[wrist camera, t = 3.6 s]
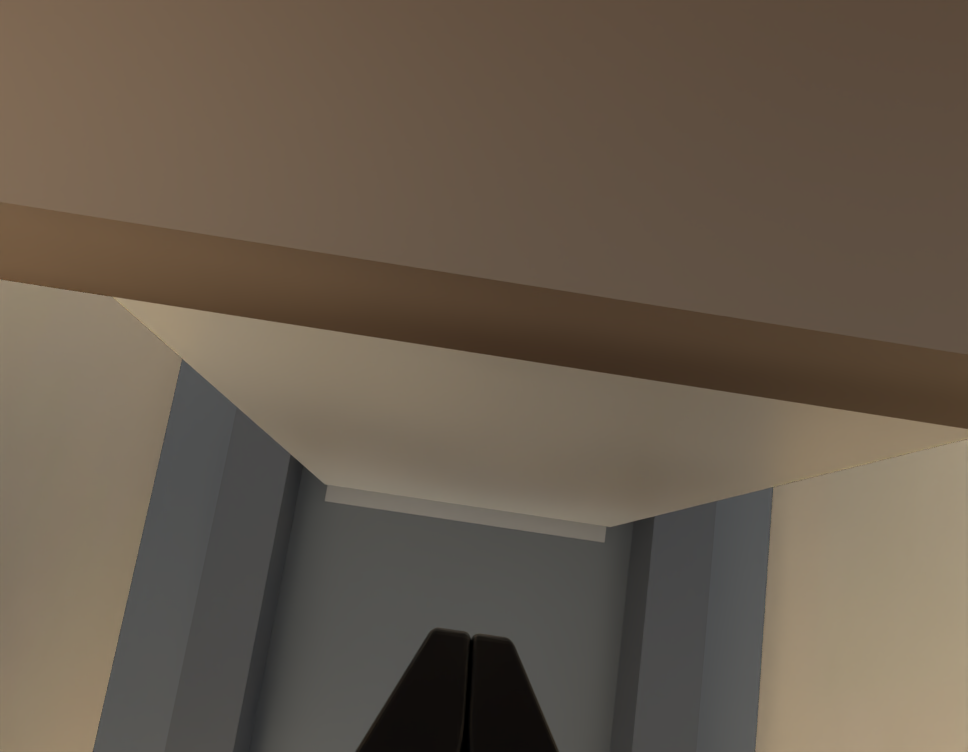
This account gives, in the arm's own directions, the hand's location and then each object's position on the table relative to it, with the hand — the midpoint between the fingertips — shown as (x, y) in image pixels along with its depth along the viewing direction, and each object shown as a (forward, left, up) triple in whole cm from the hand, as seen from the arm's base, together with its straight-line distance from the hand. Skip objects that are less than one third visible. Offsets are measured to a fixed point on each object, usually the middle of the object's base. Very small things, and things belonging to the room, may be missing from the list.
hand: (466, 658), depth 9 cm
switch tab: (+2, +2, -6) cm, 7 cm away
